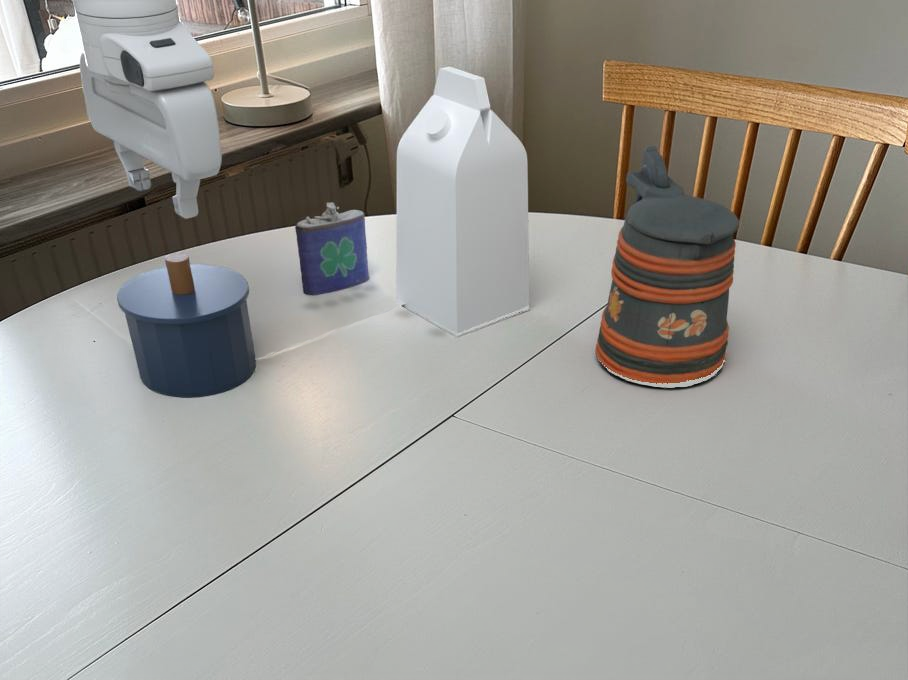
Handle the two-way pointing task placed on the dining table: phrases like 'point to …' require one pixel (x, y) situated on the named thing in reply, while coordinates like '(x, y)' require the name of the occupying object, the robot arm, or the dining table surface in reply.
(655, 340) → the beer stein
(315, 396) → the dining table surface
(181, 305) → the pot lid
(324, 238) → the flask
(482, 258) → the milk
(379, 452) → the dining table surface
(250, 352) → the pot
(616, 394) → the dining table surface
